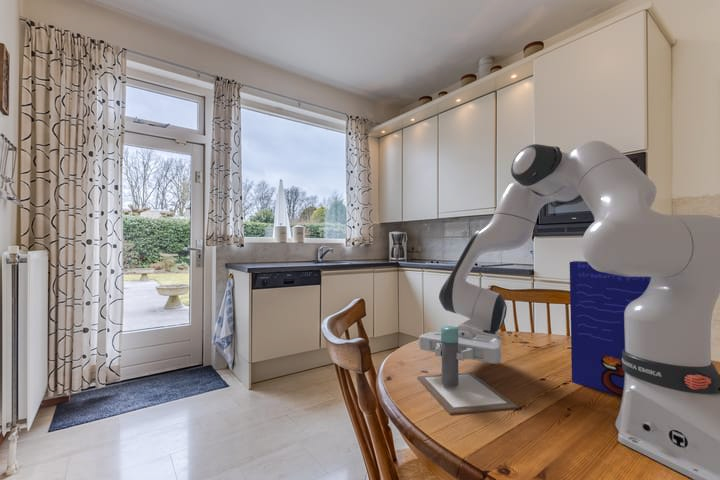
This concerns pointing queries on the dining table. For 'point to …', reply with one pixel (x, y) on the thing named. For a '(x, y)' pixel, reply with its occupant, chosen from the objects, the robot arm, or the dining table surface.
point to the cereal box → (600, 325)
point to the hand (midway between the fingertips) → (448, 354)
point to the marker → (449, 355)
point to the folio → (466, 394)
